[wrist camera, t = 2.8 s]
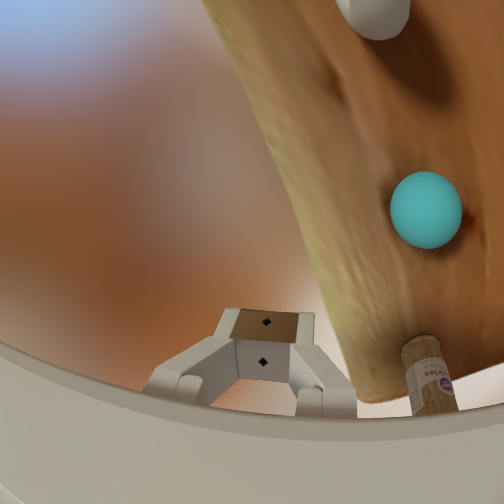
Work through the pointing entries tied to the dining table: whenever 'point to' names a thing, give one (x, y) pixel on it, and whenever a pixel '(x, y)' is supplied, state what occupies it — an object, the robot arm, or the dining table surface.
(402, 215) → the ball
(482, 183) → the dining table surface
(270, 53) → the dining table surface
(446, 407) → the sprinkles bottle
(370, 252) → the dining table surface
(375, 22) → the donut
